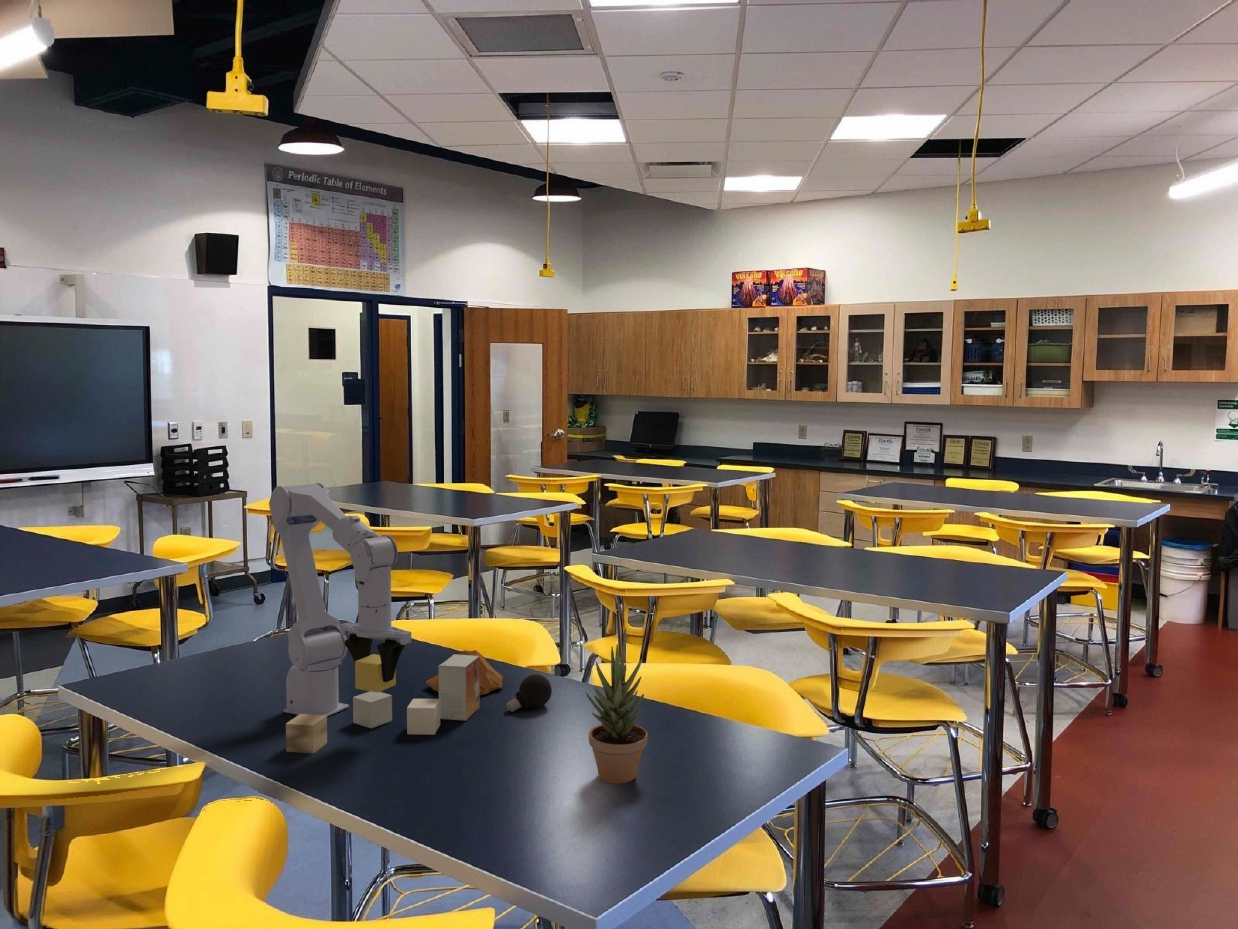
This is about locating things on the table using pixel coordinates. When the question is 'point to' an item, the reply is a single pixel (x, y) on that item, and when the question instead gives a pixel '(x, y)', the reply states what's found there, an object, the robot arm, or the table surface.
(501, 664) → the table surface
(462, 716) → the small box
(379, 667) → the mustard cube
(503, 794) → the table surface
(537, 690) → the light bulb
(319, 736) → the maple cube
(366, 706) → the grey cube
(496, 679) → the stone
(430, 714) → the white cube
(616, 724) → the potted plant
